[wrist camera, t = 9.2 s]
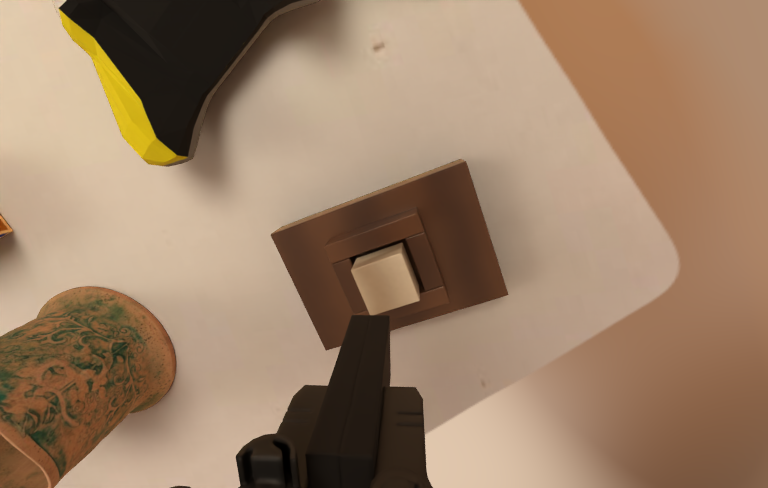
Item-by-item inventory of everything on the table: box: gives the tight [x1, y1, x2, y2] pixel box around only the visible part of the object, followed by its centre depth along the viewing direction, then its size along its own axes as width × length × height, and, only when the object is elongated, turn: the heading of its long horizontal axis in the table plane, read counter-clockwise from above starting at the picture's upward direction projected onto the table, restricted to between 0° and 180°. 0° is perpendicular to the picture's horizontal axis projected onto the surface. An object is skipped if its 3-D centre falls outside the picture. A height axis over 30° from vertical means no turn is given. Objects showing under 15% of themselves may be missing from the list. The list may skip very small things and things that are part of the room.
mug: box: [0, 287, 176, 488], centre depth 24 cm, size 12×18×12 cm, turn 121°
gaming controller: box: [53, 0, 320, 166], centre depth 19 cm, size 15×6×10 cm
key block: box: [271, 159, 508, 350], centre depth 23 cm, size 13×9×4 cm
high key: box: [351, 243, 420, 315], centre depth 21 cm, size 3×3×2 cm
